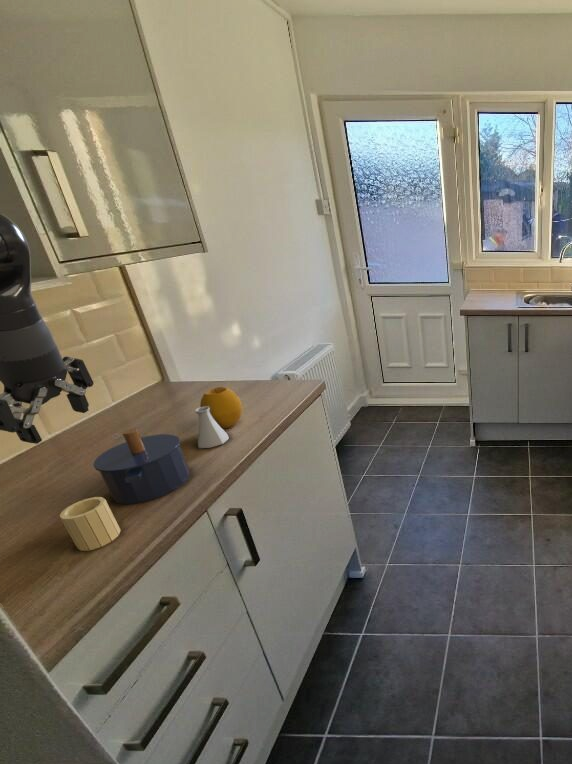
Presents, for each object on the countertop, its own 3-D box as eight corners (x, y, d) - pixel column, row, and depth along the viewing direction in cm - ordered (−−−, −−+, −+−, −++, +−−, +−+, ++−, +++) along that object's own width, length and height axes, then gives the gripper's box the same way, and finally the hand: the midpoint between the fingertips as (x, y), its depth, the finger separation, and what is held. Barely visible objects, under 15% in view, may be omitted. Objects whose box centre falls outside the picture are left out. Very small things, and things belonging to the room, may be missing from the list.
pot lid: (86, 483, 82) (72, 457, 80) (105, 449, 93) (93, 426, 91) (177, 460, 89) (167, 436, 86) (184, 432, 100) (175, 409, 98)
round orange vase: (215, 419, 123) (202, 383, 118) (251, 415, 125) (240, 379, 121) (201, 435, 114) (188, 397, 110) (241, 430, 117) (229, 393, 112)
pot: (102, 520, 84) (85, 485, 80) (123, 473, 99) (109, 442, 95) (185, 497, 90) (172, 464, 87) (193, 456, 105) (181, 426, 102)
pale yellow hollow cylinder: (73, 555, 75) (54, 523, 72) (83, 535, 80) (66, 504, 77) (116, 542, 78) (100, 510, 75) (123, 523, 83) (108, 493, 80)
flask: (194, 451, 107) (181, 417, 103) (201, 438, 113) (189, 405, 109) (226, 445, 109) (215, 412, 106) (232, 432, 116) (221, 400, 112)
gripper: (41, 321, 70) (74, 398, 78) (-63, 363, 58) (-10, 448, 66) (87, 331, 70) (116, 406, 79) (-6, 375, 58) (40, 458, 67)
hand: (58, 425), depth 73 cm, fingers open, 8 cm apart
